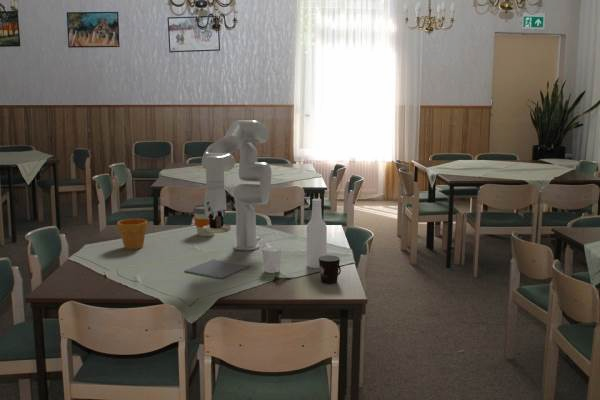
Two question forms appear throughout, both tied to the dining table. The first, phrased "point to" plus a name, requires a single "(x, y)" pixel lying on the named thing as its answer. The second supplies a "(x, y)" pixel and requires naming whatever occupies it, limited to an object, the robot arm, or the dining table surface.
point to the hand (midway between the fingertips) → (216, 226)
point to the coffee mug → (329, 268)
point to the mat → (217, 269)
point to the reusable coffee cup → (201, 220)
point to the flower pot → (132, 232)
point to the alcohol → (316, 236)
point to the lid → (217, 227)
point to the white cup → (272, 259)
